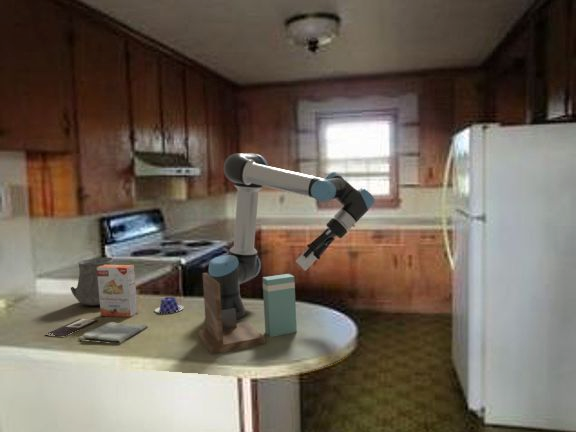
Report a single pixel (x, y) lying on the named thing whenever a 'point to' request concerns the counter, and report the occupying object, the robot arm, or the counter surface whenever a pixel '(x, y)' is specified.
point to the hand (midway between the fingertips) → (300, 266)
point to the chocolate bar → (73, 327)
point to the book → (279, 304)
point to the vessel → (89, 281)
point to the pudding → (169, 305)
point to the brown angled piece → (213, 333)
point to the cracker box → (117, 290)
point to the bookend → (229, 318)
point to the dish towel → (113, 332)
